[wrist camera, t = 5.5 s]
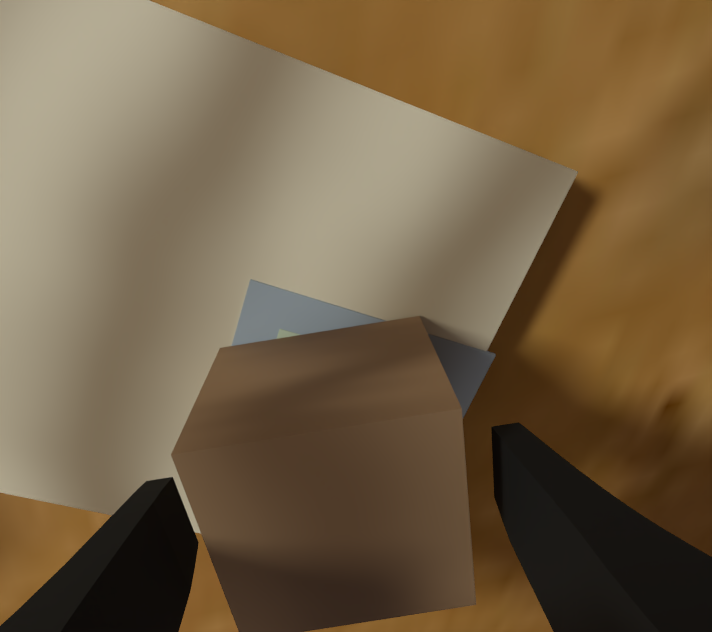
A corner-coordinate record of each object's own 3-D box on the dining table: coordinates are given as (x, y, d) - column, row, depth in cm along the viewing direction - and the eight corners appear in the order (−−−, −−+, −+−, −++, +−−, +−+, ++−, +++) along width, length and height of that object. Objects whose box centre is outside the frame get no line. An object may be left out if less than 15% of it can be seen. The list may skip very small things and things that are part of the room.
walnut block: (419, 315, 12) (461, 408, 8) (435, 472, 14) (476, 604, 10) (219, 347, 12) (171, 454, 8) (265, 499, 14) (242, 641, 10)
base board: (557, 168, 12) (589, 176, 11) (378, 532, 17) (383, 572, 15) (-173, -122, 9) (-268, -167, 8) (-145, 418, 14) (-202, 454, 12)
